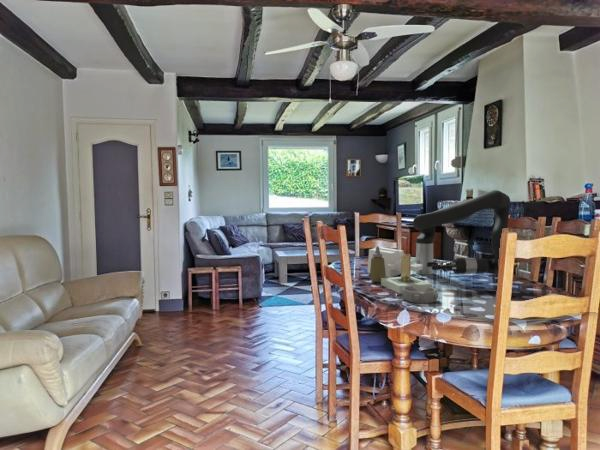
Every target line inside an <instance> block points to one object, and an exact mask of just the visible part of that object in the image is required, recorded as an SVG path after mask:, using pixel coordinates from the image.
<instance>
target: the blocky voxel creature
mask: <svg viewBox="0 0 600 450" xmlns="http://www.w3.org/2000/svg"><path fill="white" fill-rule="evenodd" d="M376 247H377V246H375V247H374V248H369V249H368V258H367V259H368V261H367V273H368V274H370V267H371V258H373V253H375V251H376ZM379 250H380V253H382V258H384V263H385V273H386V275H385V278H390V277H397V276H399V275H400V276H401V254H405V250H402V249H395V248H391V247H385V246H384V247H382V246H379ZM422 269H423V265H420V264H416V262H415V263H414V259H411V271H413V272H416V271H418V270H422Z"/></svg>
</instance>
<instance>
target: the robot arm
mask: <svg viewBox="0 0 600 450" xmlns="http://www.w3.org/2000/svg"><path fill="white" fill-rule="evenodd" d="M510 209H511V198H510V197H509V195H508V194H506V193H505V192H502V191H500V190H496V189H494V190H491V191H487V192H484V193H483V194H481V195H478V196H476V197H474V198H473V197H472V198H470V199H467V200H463V201H461V202H456V203H452V204H450V205H448V206H444V207H443V208H440V209H438V210H435V211H432V212H428V213H423V214H418V215H416V216H415V217H414V218H413V222H412V226H413V228H414V229H415V230H417V231H419V232H420V233H419V235H418V236H417V237H416V239H415V241H416V242H415V247H416V248H415V264H420V265H423V269H422V270H418V271H415V273H416V274H417V275H422V276H423V275H426V276H427V275H433V274H434V271H443V272H453V273H454V274H456V275H457V274H458V275H461V274H462V275H466V274H467V275H470V274H491V275H492V274H493V275H499V274H498V259H499V248H500V238H501V233H502V229H503V228H507V229H508V226H509V216H510ZM485 210H493V211H494V217H495V219H494V220H495V221H494V226H493V227H492V231H491V251H492V252H493V253H494V257H495V258H494V259H487V258H484V257H475V258H474V257H454V258H452V262H451V261H449V260H435V261H434V240H435V237H436V226H439V225H448V224H453V223H457V222H462V221H464V220H468V219H469V218H470V217H472V216H473V215H474V214H475V213H478V212H481V211H485ZM508 230H509V229H508Z"/></svg>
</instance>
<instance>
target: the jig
mask: <svg viewBox="0 0 600 450" xmlns="http://www.w3.org/2000/svg"><path fill="white" fill-rule="evenodd" d="M380 285H381V286H383V287H384V288H386V289H388V290H390V289H391V290H390V291H392V292H395V293H397V294H398V295H403V294H402V290H403V288H404V287H406V286H413V287H414V288H415V289H416V290H417V291H422V292H423V291H425V290H427V289H428V287H432V288H433V284H432V283H430V282H427V281H425V280H422V279H419V278H418V277H417V278H416V277H414V276H411V282H401V276H393V277H385V278H381V282H380Z"/></svg>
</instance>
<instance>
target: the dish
mask: <svg viewBox="0 0 600 450" xmlns="http://www.w3.org/2000/svg"><path fill="white" fill-rule="evenodd" d="M401 295H402V299H404V301H406V302H410V303H415V304H429V303H430V304H431V303H435V302H437V301H438V297H439V293H438V289H437V288H436V287H433V286H432V287H428V289H427V290H425V291H423V292H422V291H417V290H416V289H415V288H414V287H413V286H406V287H404V288H403V290H402V294H401Z"/></svg>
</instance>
